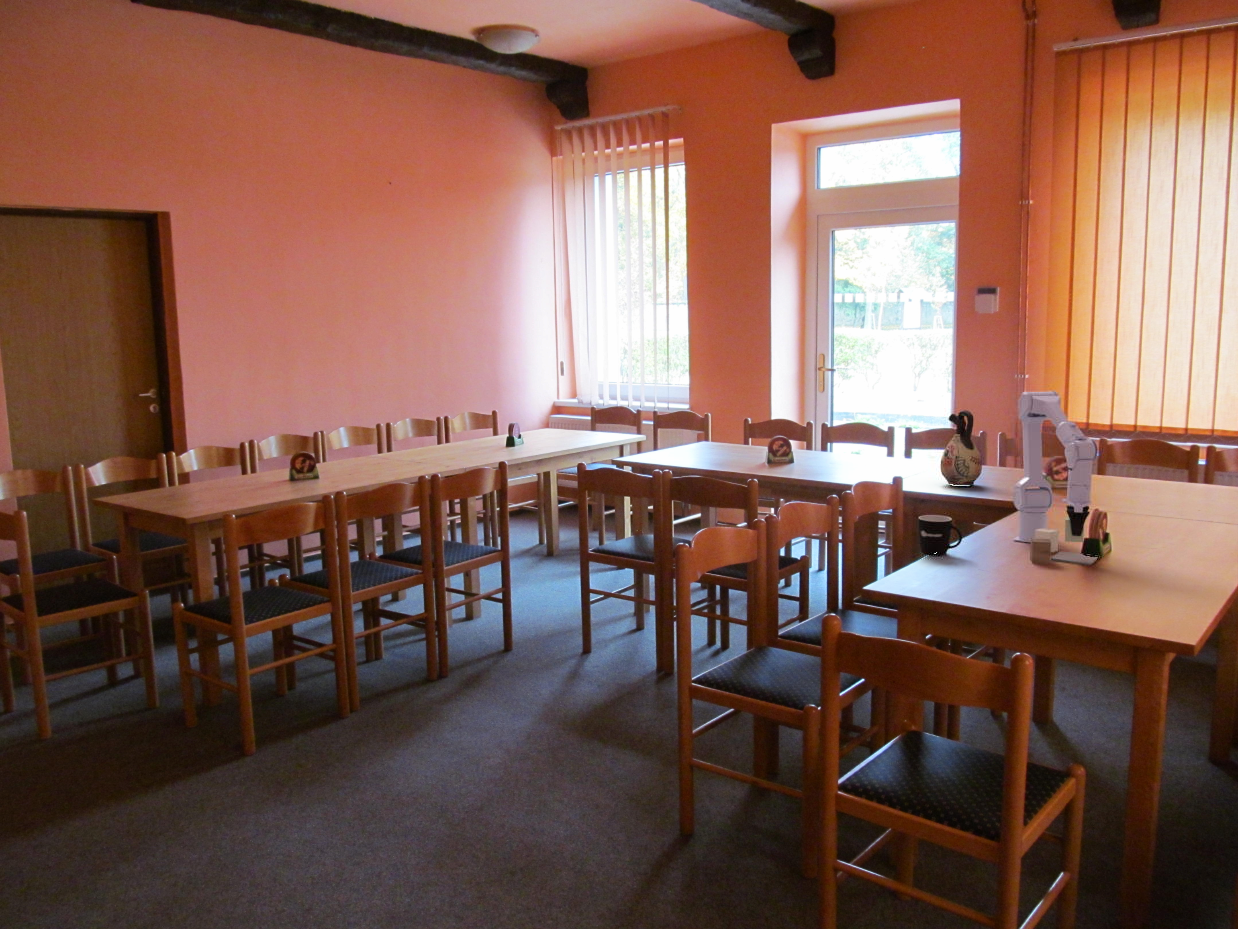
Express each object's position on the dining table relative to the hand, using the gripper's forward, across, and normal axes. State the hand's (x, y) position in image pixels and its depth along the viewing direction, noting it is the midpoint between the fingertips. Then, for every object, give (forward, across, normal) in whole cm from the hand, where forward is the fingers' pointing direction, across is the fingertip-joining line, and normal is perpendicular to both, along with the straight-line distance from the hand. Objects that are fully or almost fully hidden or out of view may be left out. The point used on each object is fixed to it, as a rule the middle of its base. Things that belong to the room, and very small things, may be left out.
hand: (1076, 533), depth 267 cm
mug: (+7, +7, -35) cm, 36 cm away
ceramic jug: (+7, -111, -40) cm, 118 cm away
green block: (+2, 0, 0) cm, 2 cm away
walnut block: (+7, +6, -9) cm, 13 cm away
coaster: (+7, 0, 0) cm, 7 cm away
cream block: (+7, -8, -7) cm, 13 cm away
